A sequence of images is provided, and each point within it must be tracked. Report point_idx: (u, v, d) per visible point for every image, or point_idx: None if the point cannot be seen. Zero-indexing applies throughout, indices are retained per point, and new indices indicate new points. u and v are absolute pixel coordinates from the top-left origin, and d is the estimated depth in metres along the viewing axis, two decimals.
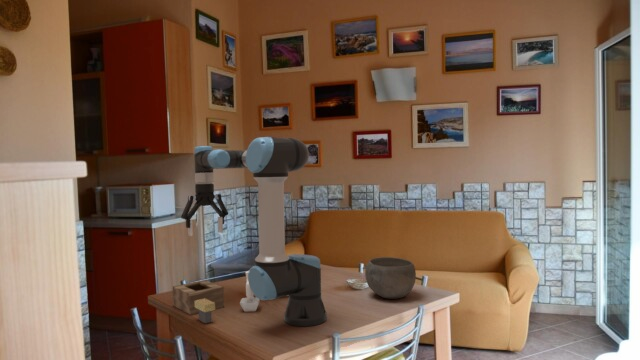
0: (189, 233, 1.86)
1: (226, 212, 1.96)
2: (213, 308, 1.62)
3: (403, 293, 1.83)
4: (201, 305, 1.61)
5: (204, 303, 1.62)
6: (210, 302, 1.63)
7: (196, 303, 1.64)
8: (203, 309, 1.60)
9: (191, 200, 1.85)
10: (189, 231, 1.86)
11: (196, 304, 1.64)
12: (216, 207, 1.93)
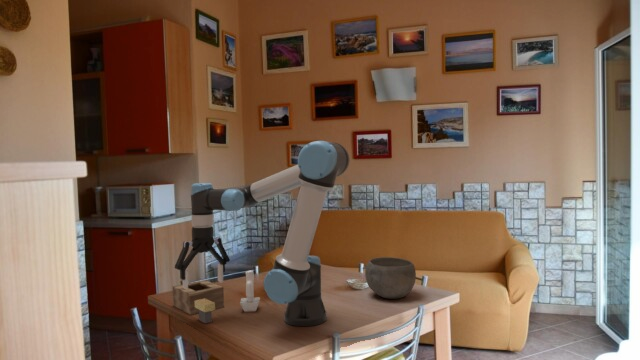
0: (184, 285, 1.59)
1: (227, 258, 1.69)
2: (213, 308, 1.62)
3: (403, 293, 1.83)
4: (201, 305, 1.61)
5: (204, 303, 1.62)
6: (210, 302, 1.63)
7: (196, 303, 1.64)
8: (203, 309, 1.60)
9: (187, 247, 1.58)
10: (184, 284, 1.59)
11: (196, 304, 1.64)
12: (216, 253, 1.66)
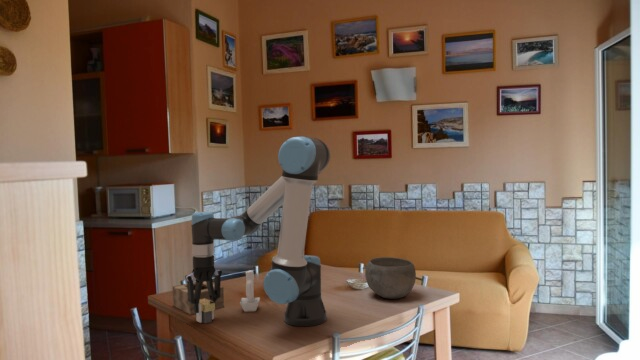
0: (197, 319, 1.62)
1: (218, 294, 1.66)
2: (213, 308, 1.62)
3: (403, 293, 1.83)
4: (201, 305, 1.61)
5: (204, 303, 1.62)
6: (210, 302, 1.63)
7: None
8: (203, 309, 1.60)
9: (190, 281, 1.59)
10: (198, 317, 1.62)
11: None
12: (211, 286, 1.64)
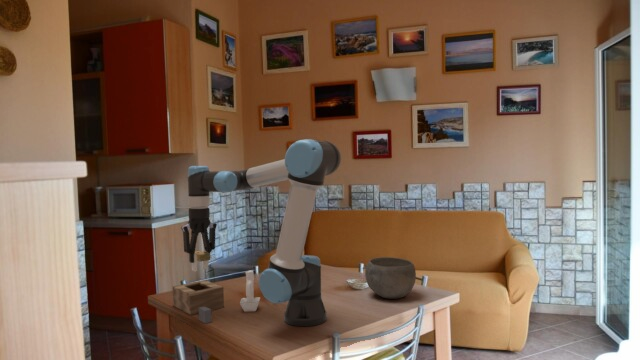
0: (193, 268, 1.68)
1: (213, 246, 1.72)
2: (208, 258, 1.67)
3: (403, 293, 1.83)
4: None
5: (199, 253, 1.68)
6: (205, 253, 1.68)
7: None
8: (198, 259, 1.66)
9: (186, 231, 1.65)
10: (193, 267, 1.68)
11: None
12: (206, 238, 1.70)
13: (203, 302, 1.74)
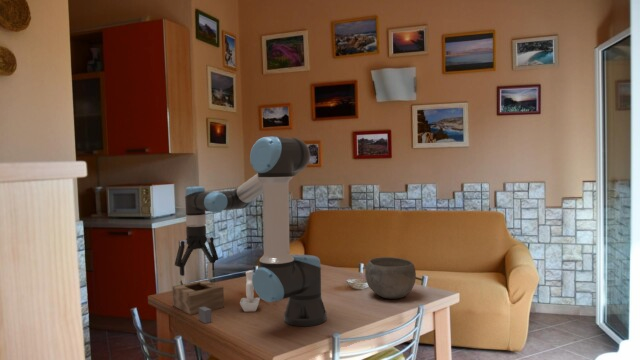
0: (183, 281, 1.78)
1: (216, 257, 1.85)
2: None
3: (403, 293, 1.83)
4: None
5: None
6: None
7: None
8: None
9: (182, 246, 1.76)
10: (183, 279, 1.77)
11: None
12: (207, 251, 1.83)
13: (203, 302, 1.74)
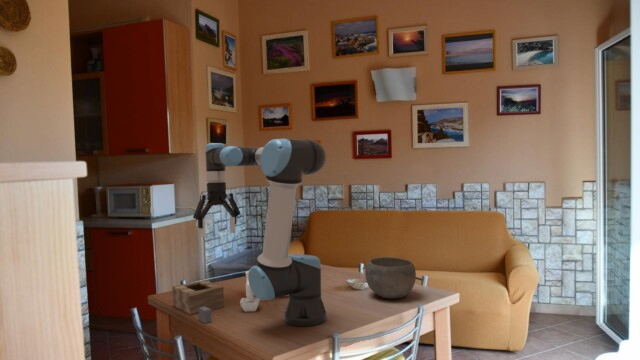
0: (201, 234, 1.79)
1: (238, 212, 1.89)
2: None
3: (403, 293, 1.83)
4: None
5: None
6: None
7: None
8: None
9: (203, 199, 1.78)
10: (202, 232, 1.79)
11: None
12: (228, 207, 1.86)
13: (203, 302, 1.74)
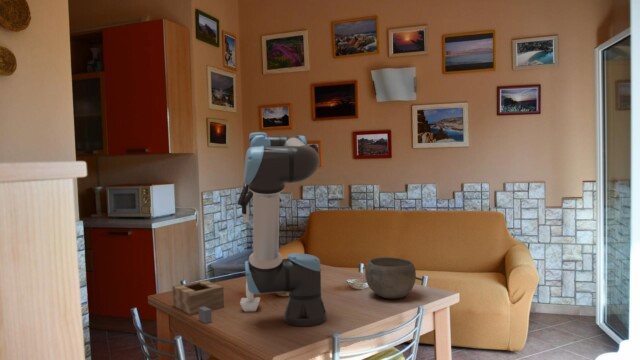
0: (245, 219, 1.86)
1: (279, 199, 1.96)
2: None
3: (403, 293, 1.83)
4: None
5: None
6: None
7: None
8: None
9: (247, 186, 1.85)
10: (245, 218, 1.86)
11: None
12: None
13: (203, 302, 1.74)
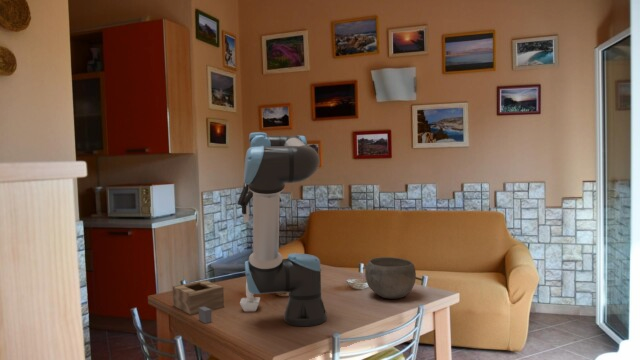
0: (245, 219, 1.86)
1: (279, 199, 1.96)
2: None
3: (403, 293, 1.83)
4: None
5: None
6: None
7: None
8: None
9: (247, 186, 1.85)
10: (245, 218, 1.86)
11: None
12: None
13: (203, 302, 1.74)
